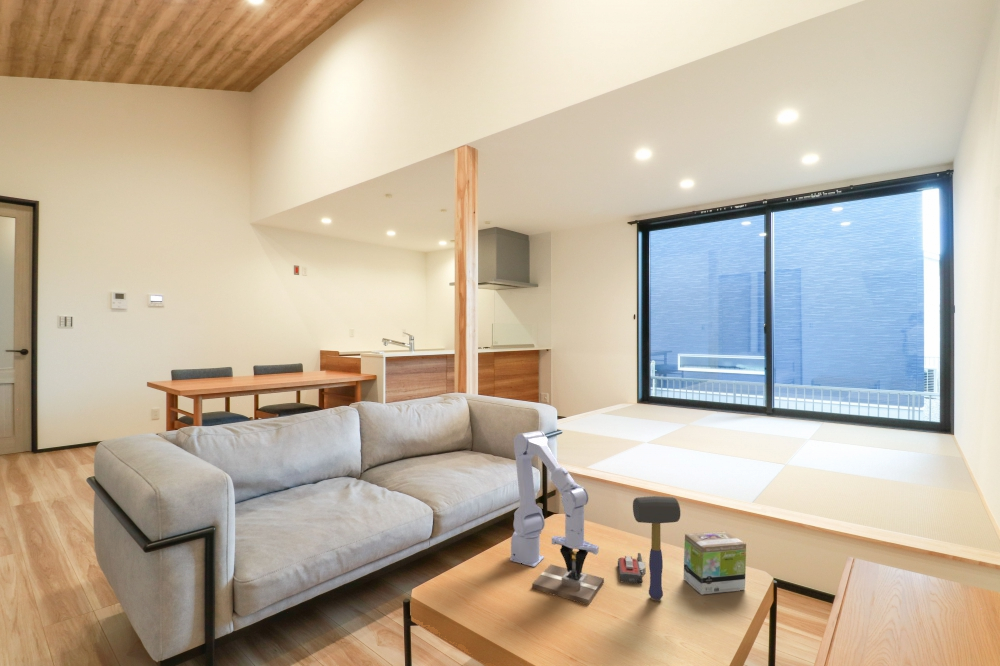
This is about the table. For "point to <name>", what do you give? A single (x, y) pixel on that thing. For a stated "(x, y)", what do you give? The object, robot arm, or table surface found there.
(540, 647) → the table surface
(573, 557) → the gold-capped cylinder
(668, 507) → the rubber mallet
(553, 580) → the board
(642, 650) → the table surface
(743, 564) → the tea box
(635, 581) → the walkie-talkie
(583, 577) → the pilot socket
